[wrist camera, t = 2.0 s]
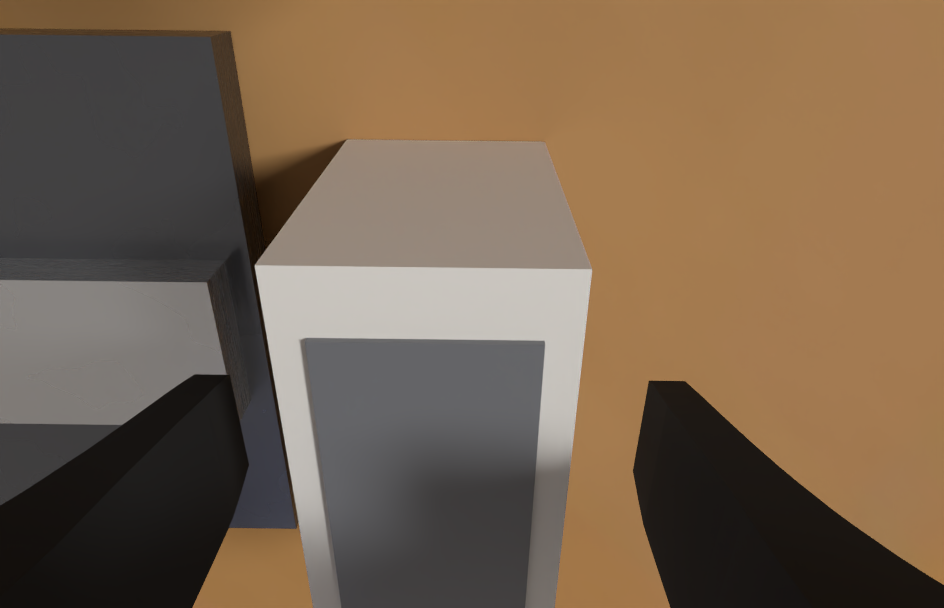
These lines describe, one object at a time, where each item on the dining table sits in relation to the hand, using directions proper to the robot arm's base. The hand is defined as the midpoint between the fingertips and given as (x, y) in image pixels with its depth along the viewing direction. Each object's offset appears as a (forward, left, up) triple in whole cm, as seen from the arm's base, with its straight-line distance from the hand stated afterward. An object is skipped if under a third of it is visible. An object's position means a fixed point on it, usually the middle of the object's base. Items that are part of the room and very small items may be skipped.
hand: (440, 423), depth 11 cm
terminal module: (0, 0, -4) cm, 4 cm away
